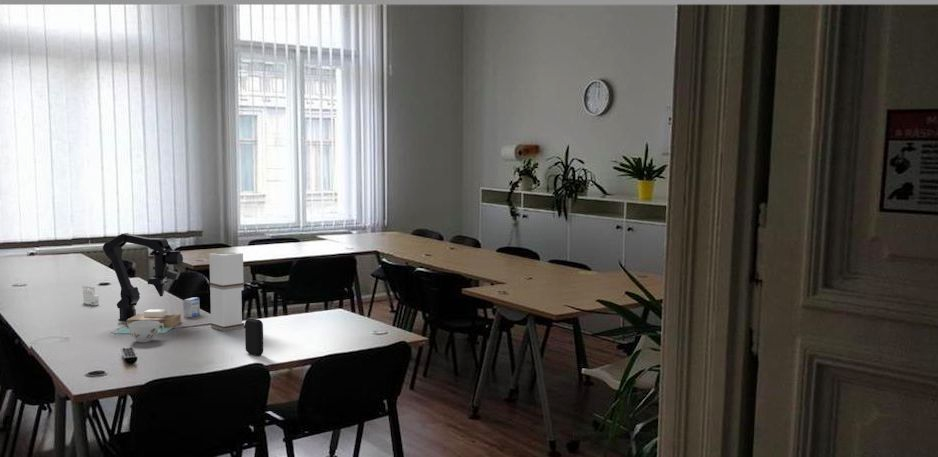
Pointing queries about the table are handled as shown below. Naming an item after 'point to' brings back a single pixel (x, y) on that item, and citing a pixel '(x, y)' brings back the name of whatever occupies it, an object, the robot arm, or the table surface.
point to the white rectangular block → (155, 313)
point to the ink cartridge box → (90, 296)
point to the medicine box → (191, 307)
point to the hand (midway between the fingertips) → (161, 296)
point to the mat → (127, 331)
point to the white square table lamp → (226, 290)
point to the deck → (158, 319)
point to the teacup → (144, 330)
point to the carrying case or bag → (254, 336)
